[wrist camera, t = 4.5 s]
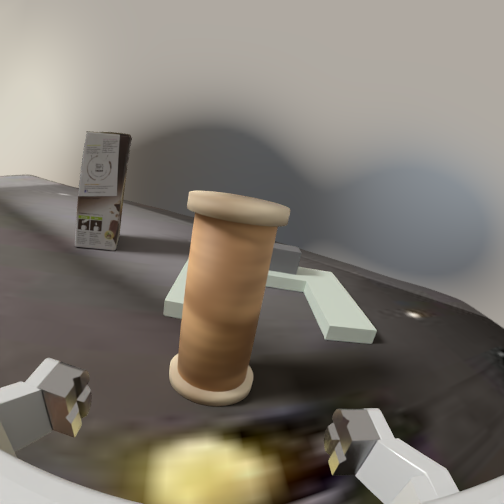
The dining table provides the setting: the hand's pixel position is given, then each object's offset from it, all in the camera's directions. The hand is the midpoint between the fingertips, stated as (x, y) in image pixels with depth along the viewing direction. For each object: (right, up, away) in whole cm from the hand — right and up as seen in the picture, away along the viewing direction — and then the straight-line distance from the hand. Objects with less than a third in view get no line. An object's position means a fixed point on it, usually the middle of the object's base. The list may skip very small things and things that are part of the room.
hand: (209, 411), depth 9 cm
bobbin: (-1, -4, +11) cm, 12 cm away
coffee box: (-22, +6, +36) cm, 43 cm away
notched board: (+3, 0, +28) cm, 28 cm away
